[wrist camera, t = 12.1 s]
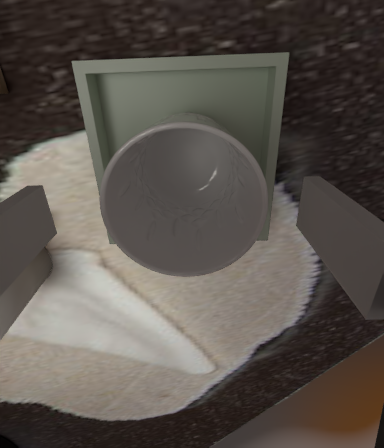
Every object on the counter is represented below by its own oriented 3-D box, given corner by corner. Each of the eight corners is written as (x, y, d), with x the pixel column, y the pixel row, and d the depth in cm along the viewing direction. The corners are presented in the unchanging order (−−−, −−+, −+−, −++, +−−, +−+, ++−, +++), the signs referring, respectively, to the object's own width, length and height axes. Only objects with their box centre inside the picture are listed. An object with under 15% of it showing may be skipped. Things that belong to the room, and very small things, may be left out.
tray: (260, 224, 25) (267, 240, 23) (117, 228, 26) (109, 244, 23) (276, 55, 19) (289, 52, 16) (87, 63, 19) (71, 61, 17)
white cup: (155, 211, 24) (132, 288, 15) (124, 117, 20) (69, 147, 11) (244, 191, 23) (276, 262, 14) (228, 90, 19) (257, 99, 10)
